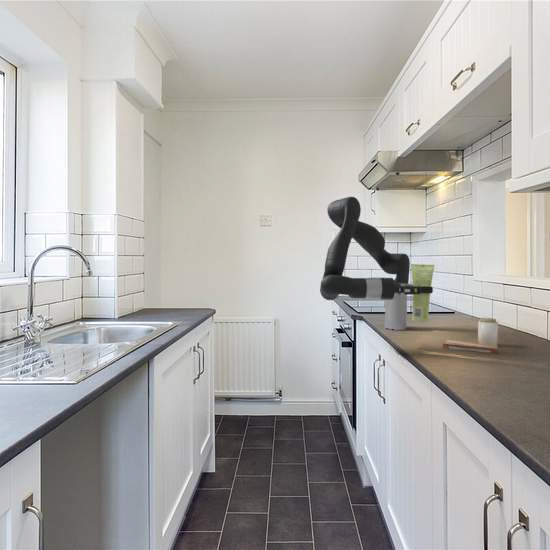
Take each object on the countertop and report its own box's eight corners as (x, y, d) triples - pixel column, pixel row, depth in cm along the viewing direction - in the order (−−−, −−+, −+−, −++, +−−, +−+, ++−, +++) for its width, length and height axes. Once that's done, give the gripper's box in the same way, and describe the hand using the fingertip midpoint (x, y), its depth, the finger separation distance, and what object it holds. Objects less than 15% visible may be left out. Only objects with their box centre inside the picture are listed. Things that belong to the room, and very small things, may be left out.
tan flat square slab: (447, 342, 142) (447, 336, 142) (497, 347, 134) (497, 341, 134) (442, 351, 129) (442, 343, 129) (497, 357, 121) (497, 349, 121)
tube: (420, 319, 135) (422, 264, 134) (432, 321, 130) (434, 264, 129) (408, 320, 132) (410, 264, 131) (421, 323, 127) (423, 264, 126)
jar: (478, 342, 138) (478, 317, 137) (497, 343, 135) (498, 318, 134) (477, 345, 132) (478, 319, 132) (497, 347, 129) (498, 320, 129)
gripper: (383, 278, 124) (437, 279, 123) (375, 276, 139) (424, 277, 137) (382, 301, 125) (437, 302, 123) (374, 297, 139) (423, 298, 137)
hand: (429, 289), depth 130 cm, fingers closed on tube, 4 cm apart
